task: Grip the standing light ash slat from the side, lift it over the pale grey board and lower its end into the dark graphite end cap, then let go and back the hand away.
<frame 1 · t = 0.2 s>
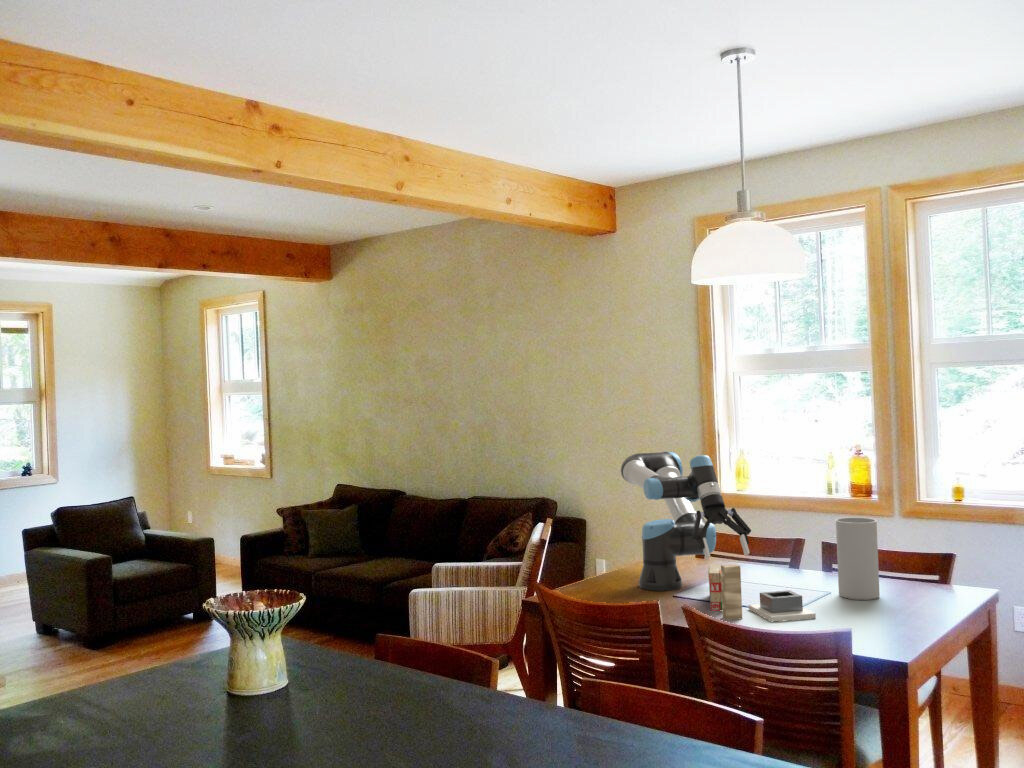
hand: (727, 556, 290), 15 cm above the table, tool tilted 35°, fingers open, 13 cm apart
end cap: (781, 608, 272), resting on base board
cylinder vase: (859, 596, 290), on the table
stack of blocks: (719, 603, 289), on the table
base board: (781, 613, 272), on the table
ash slat: (732, 618, 269), on the table
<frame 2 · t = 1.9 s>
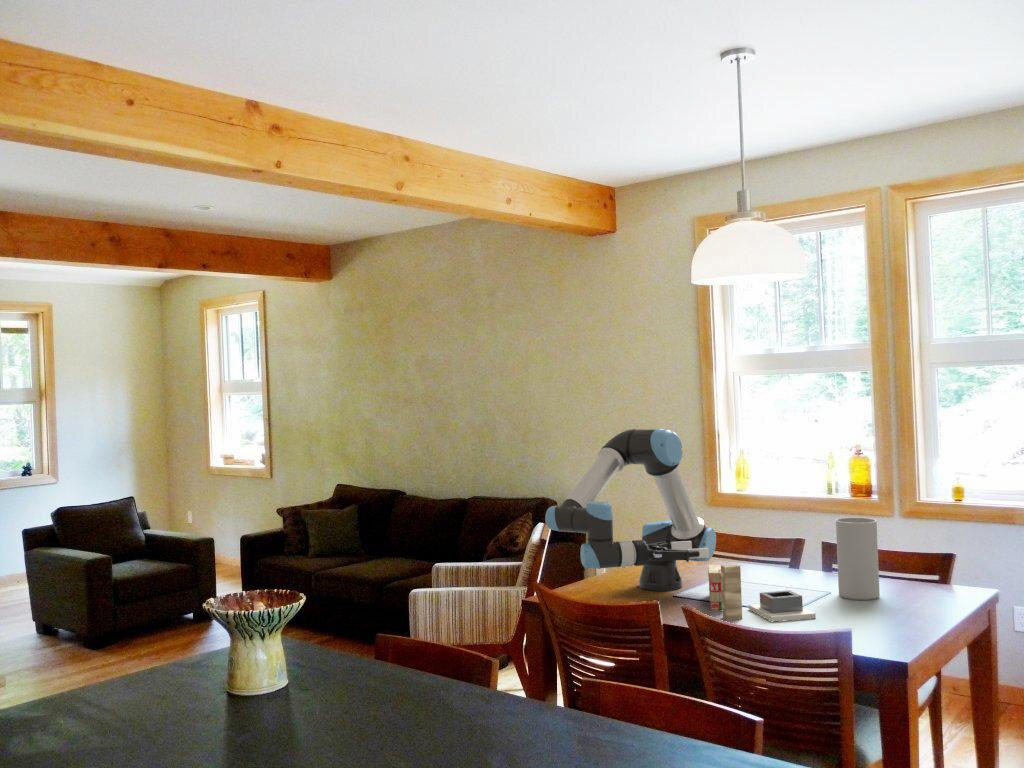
hand: (699, 548, 268), 22 cm above the table, tool horizontal, fingers open, 13 cm apart
nothing on the table moved.
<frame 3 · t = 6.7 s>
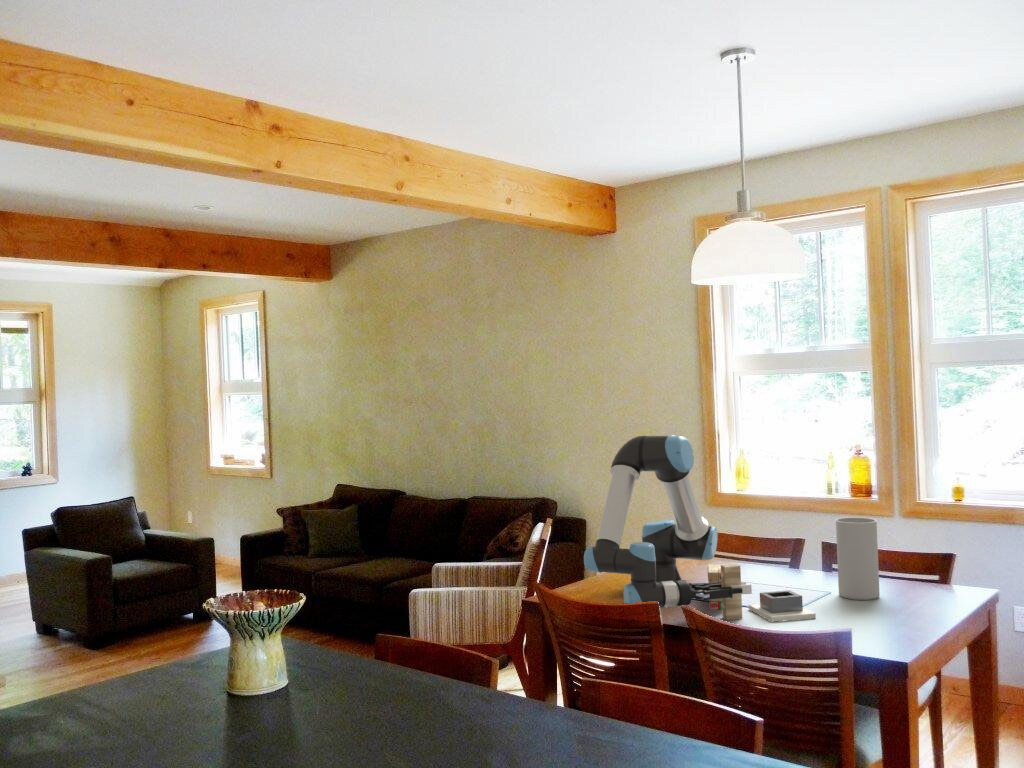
hand: (748, 587, 270), 9 cm above the table, tool horizontal, fingers closed on ash slat, 3 cm apart
ash slat: (732, 617, 269), on the table, touching gripper
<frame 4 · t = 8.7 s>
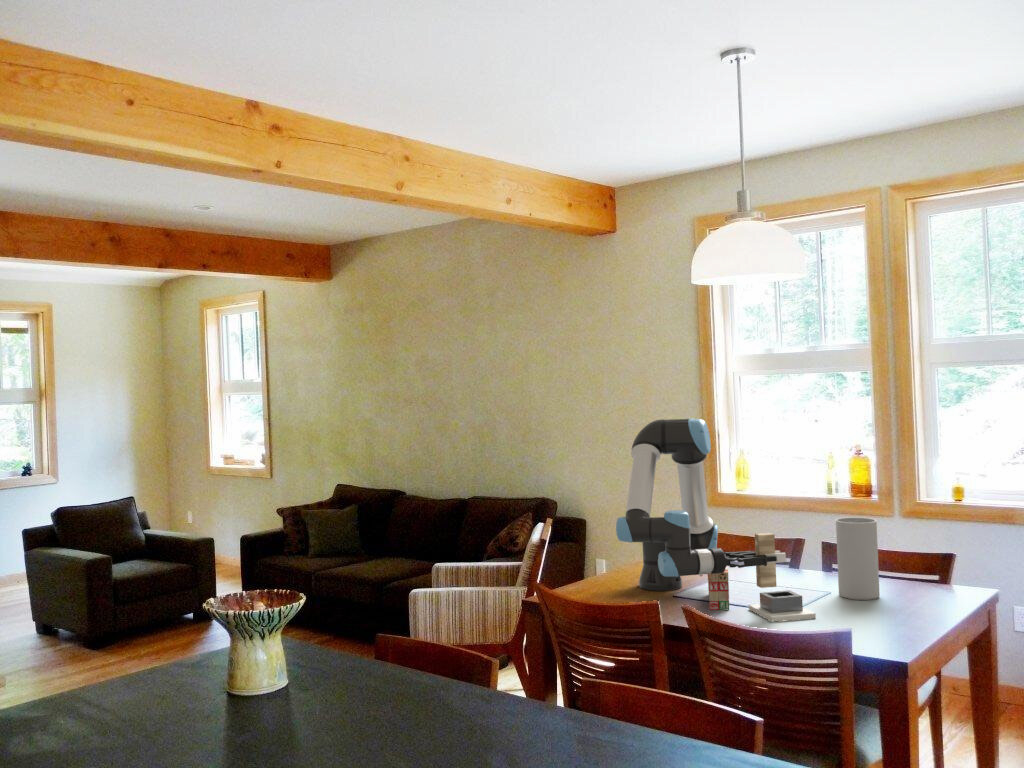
hand: (782, 556, 271), 18 cm above the table, tool horizontal, fingers closed on ash slat, 3 cm apart
ash slat: (766, 586, 270), point 9 cm above the table, touching gripper
when the fingers open (11 cm above the table, at t = 10.9 s): ash slat stays where it is, resting on base board.
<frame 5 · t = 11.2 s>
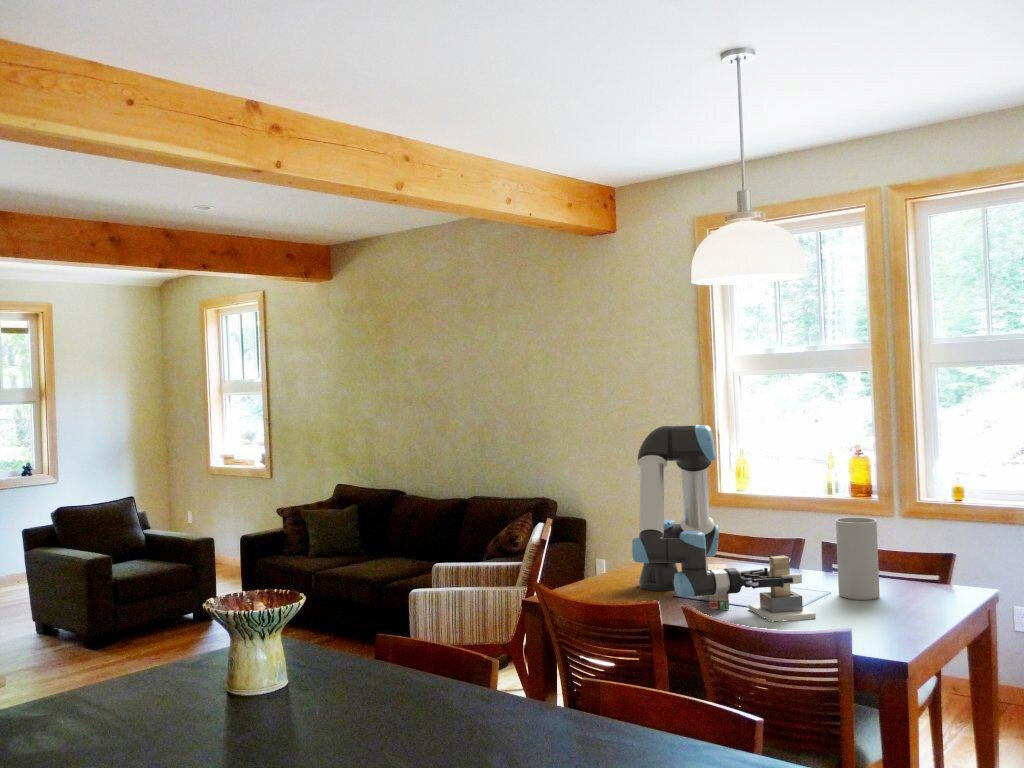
hand: (794, 575, 273), 11 cm above the table, tool horizontal, fingers open, 7 cm apart
ash slat: (781, 609, 272), point 1 cm above the table, touching base board
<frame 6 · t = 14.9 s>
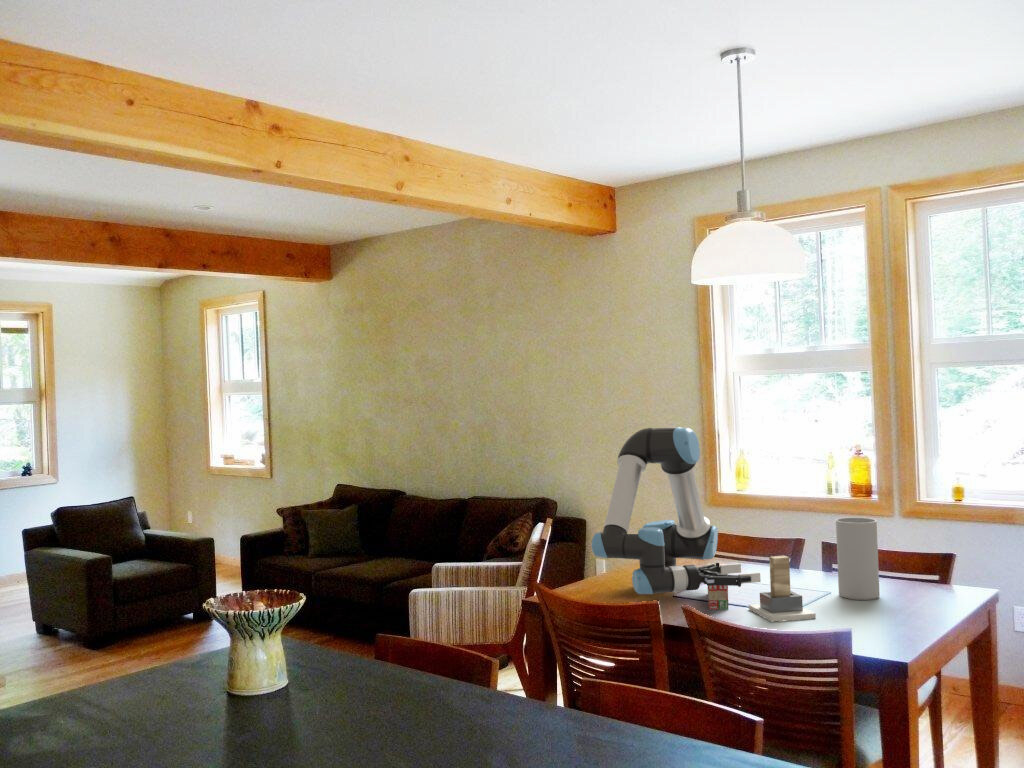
hand: (750, 572, 270), 13 cm above the table, tool horizontal, fingers open, 13 cm apart
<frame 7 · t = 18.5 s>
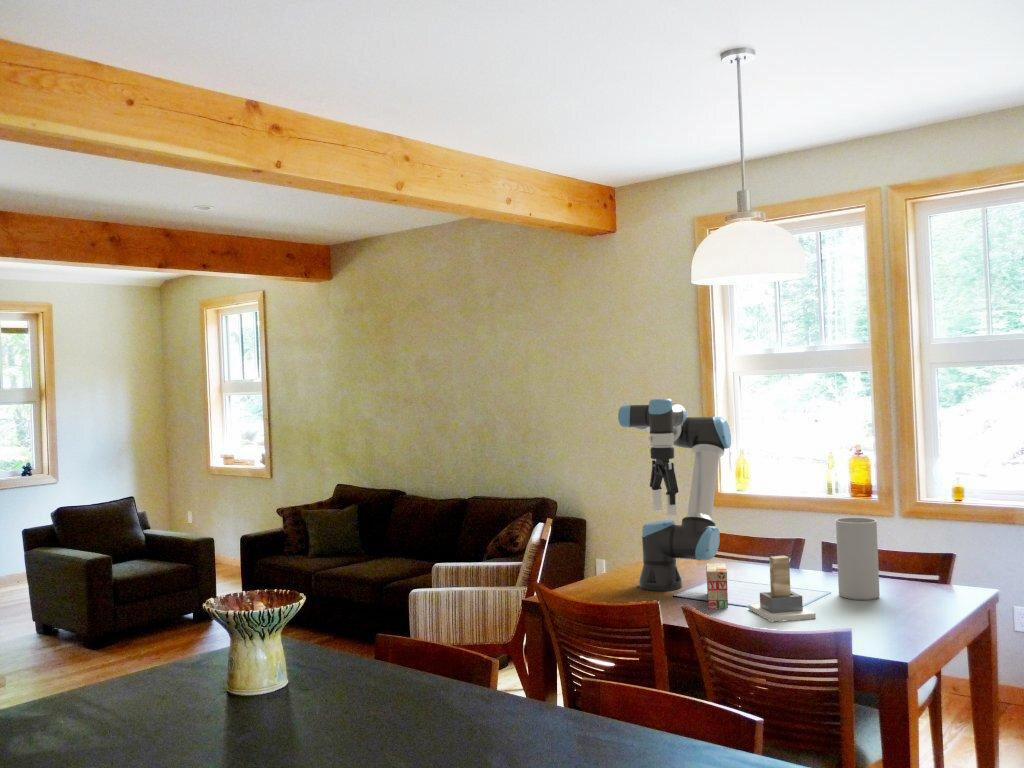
hand: (664, 512, 285), 31 cm above the table, tool pointing down, fingers open, 13 cm apart
at the end: ash slat 0.0 cm off-centre on the end cap, point 0.0 cm above the end cap's base; ash slat tilted 0°; the gripper is holding nothing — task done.
